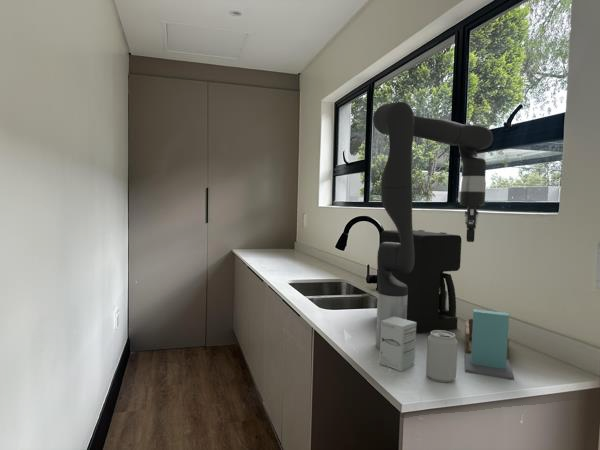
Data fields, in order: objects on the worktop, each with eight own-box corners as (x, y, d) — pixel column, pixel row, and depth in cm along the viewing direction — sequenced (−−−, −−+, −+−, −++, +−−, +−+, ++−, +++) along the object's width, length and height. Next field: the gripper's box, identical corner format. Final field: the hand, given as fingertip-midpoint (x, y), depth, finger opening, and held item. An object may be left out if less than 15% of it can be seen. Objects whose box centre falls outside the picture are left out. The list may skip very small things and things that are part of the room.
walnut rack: (507, 359, 126) (509, 336, 125) (464, 352, 130) (466, 330, 130) (503, 342, 141) (504, 322, 140) (464, 337, 145) (465, 317, 145)
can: (436, 385, 106) (438, 338, 106) (420, 373, 113) (422, 329, 113) (462, 382, 108) (464, 336, 108) (444, 370, 115) (446, 327, 115)
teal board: (506, 369, 116) (509, 315, 116) (470, 363, 120) (473, 311, 119) (505, 365, 119) (508, 313, 118) (470, 360, 122) (473, 309, 122)
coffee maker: (467, 331, 152) (472, 235, 151) (425, 337, 144) (430, 235, 142) (415, 312, 178) (418, 229, 176) (377, 316, 169) (380, 229, 167)
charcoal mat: (513, 379, 111) (514, 377, 111) (465, 371, 115) (465, 369, 115) (508, 361, 124) (508, 359, 124) (464, 354, 128) (465, 353, 128)
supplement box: (378, 364, 119) (380, 320, 118) (392, 357, 124) (394, 315, 123) (401, 372, 114) (403, 326, 113) (415, 365, 119) (417, 321, 118)
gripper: (486, 190, 128) (483, 243, 129) (484, 191, 141) (481, 239, 142) (460, 189, 130) (457, 241, 131) (460, 191, 144) (458, 238, 145)
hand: (470, 240), depth 137 cm, fingers open, 8 cm apart
